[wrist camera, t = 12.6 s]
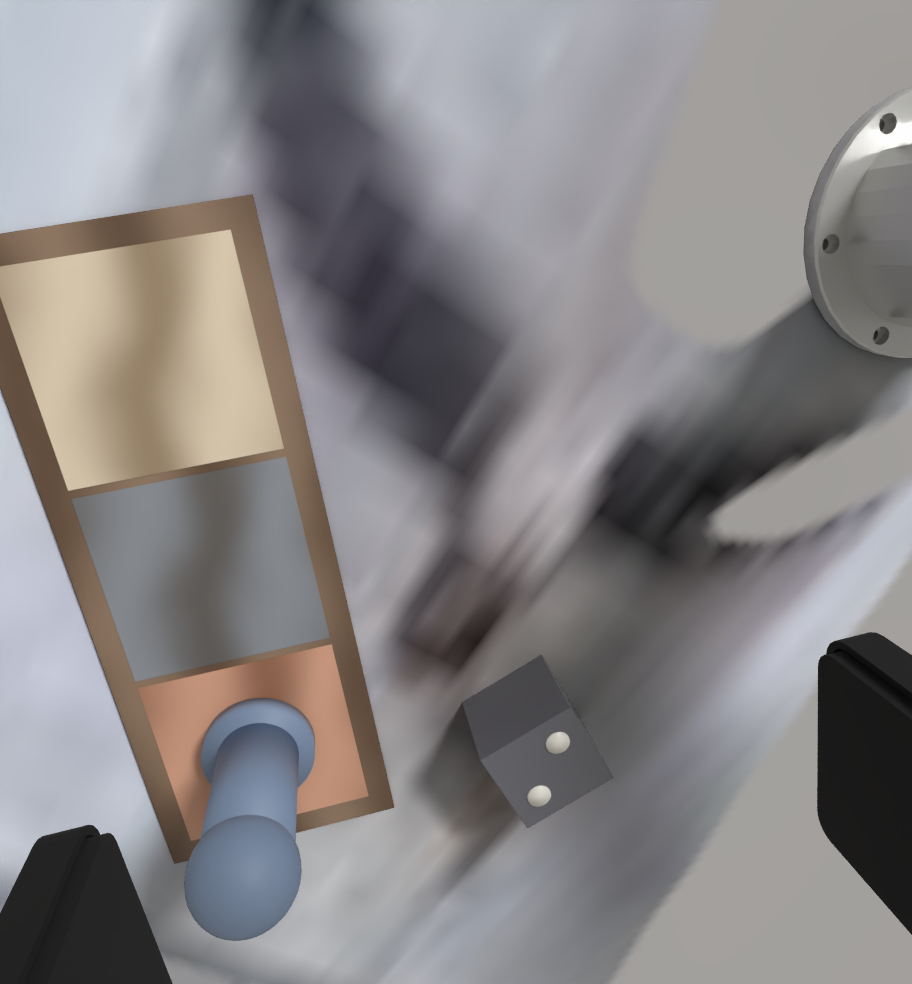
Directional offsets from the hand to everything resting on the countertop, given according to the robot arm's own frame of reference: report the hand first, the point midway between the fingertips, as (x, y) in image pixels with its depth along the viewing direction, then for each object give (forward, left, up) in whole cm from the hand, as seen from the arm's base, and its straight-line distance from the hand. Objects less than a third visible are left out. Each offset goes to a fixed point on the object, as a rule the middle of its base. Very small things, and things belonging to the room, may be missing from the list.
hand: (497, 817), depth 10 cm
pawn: (+9, +16, -26) cm, 32 cm away
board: (+9, +6, -26) cm, 28 cm away
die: (-5, +18, -26) cm, 32 cm away
